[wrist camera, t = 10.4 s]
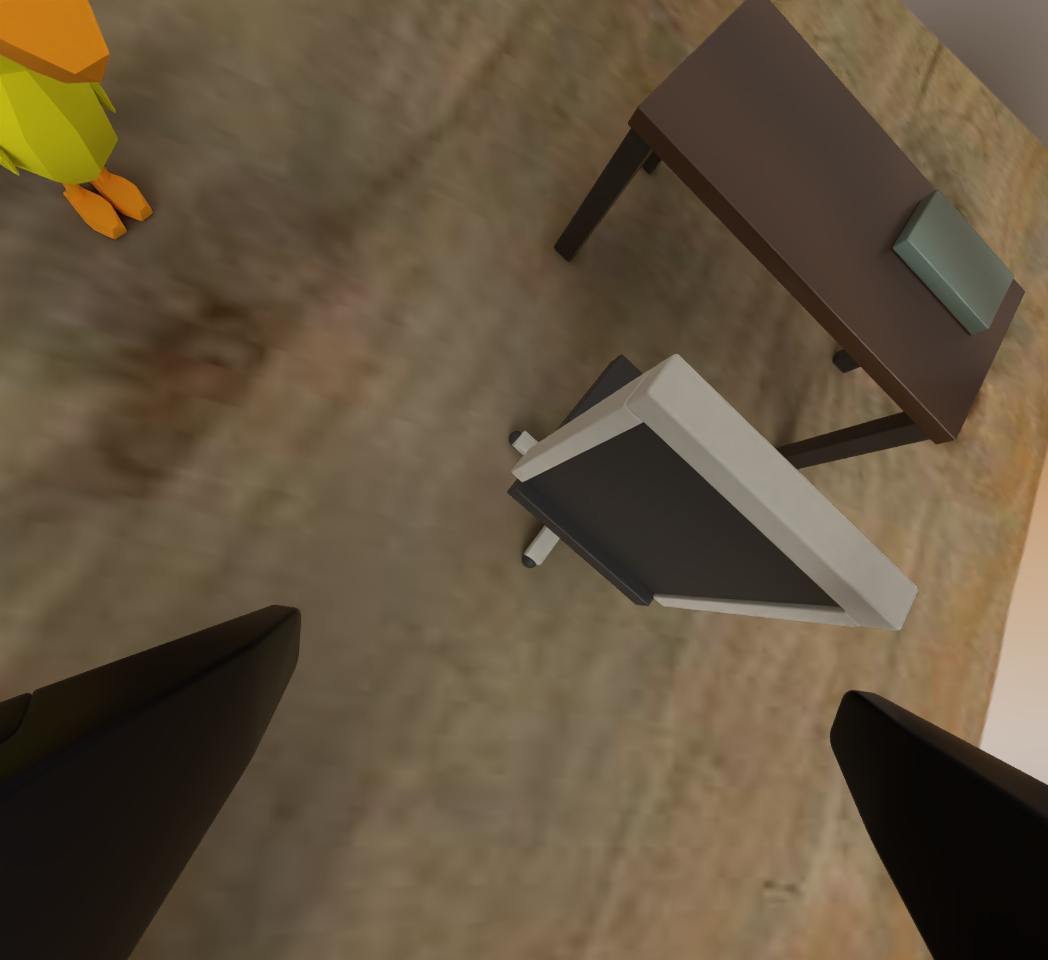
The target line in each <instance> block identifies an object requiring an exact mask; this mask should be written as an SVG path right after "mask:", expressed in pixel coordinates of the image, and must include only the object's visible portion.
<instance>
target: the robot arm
mask: <svg viewBox="0 0 1048 960" xmlns="http://www.w3.org/2000/svg"><path fill="white" fill-rule="evenodd" d="M300 629H301V613H300V611H299V609H297V608H295V607H288V606H281V605H271V606H268V607H265V608H263V609H260V610H257V611H254V612H251V613H249V614H246V615H243V616H240V617H238V618H235V619H232V620H229V621H226V622H224V623H221V624H218V625H215V626H212V627H210V628H207V629H204V630H201V631H198V632H196V633H193V634H190V635H187V636H184V637H182V638H179V639H176V640H173V641H171V642H168V643H165V644H162V645H159V646H157V647H154V648H151V649H148V650H145V651H143V652H140V653H137V654H134V655H131V656H129V657H126V658H123V659H120V660H117V661H115V662H112V663H109V664H106V665H103V666H101V667H98V668H95V669H92V670H90V671H87V672H84V673H81V674H78V675H76V676H73V677H70V678H67V679H64V680H62V681H59V682H56V683H53V684H50V685H48V686H45V687H42V688H39V689H37V690H35V691H34V692H33V694H32V695H31V694H30V693H25V694H22V695H19V696H16V697H14V698H11V699H8V700H5V701H3V702H0V960H128V958H129V956H130V955H131V953H132V952H133V950H134V948H135V947H136V945H137V944H138V942H139V940H140V939H141V937H142V935H143V934H144V932H145V931H146V929H147V927H148V926H149V924H150V923H151V921H152V919H153V918H154V916H155V914H156V913H157V911H158V910H159V908H160V906H161V905H162V903H163V902H164V900H165V898H166V897H167V895H168V893H169V892H170V890H171V889H172V887H173V885H174V884H175V882H176V881H177V879H178V877H179V876H180V874H181V872H182V871H183V869H184V868H185V866H186V864H187V863H188V861H189V860H190V858H191V856H192V855H193V853H194V851H195V850H196V848H197V847H198V845H199V843H200V842H201V840H202V839H203V837H204V835H205V834H206V832H207V831H208V829H209V827H210V826H211V824H212V822H213V821H214V819H215V818H216V816H217V814H218V813H219V811H220V810H221V808H222V806H223V805H224V803H225V801H226V800H227V798H228V797H229V795H230V793H231V792H232V790H233V789H234V787H235V785H236V784H237V782H238V780H239V779H240V777H241V776H242V774H243V772H244V771H245V769H246V767H247V766H248V764H249V762H250V760H251V759H252V757H253V755H254V753H255V751H256V749H257V747H258V745H259V743H260V741H261V739H262V737H263V735H264V733H265V731H266V729H267V727H268V725H269V723H270V720H271V718H272V716H273V714H274V712H275V710H276V708H277V706H278V704H279V702H280V700H281V697H282V695H283V693H284V691H285V689H286V687H287V685H288V683H289V681H290V679H291V676H292V674H293V672H294V670H295V667H296V665H297V661H298V656H299V643H300ZM830 743H831V747H832V750H833V752H834V754H835V757H836V759H837V761H838V764H839V766H840V769H841V771H842V773H843V776H844V778H845V780H846V783H847V785H848V787H849V790H850V792H851V794H852V797H853V799H854V802H855V804H856V806H857V809H858V811H859V813H860V816H861V818H862V820H863V823H864V825H865V827H866V830H867V832H868V834H869V836H870V838H871V841H872V843H873V845H874V847H875V849H876V851H877V853H878V855H879V857H880V859H881V860H882V862H883V864H884V866H885V868H886V870H887V872H888V874H889V876H890V878H891V879H892V881H893V883H894V885H895V887H896V889H897V891H898V893H899V895H900V896H901V898H902V900H903V902H904V904H905V906H906V908H907V910H908V912H909V914H910V915H911V917H912V919H913V921H914V923H915V925H916V927H917V929H918V931H919V932H920V934H921V936H922V938H923V940H924V942H925V944H926V946H927V948H928V950H929V951H930V953H931V955H932V957H933V959H934V960H1048V785H1047V784H1045V783H1043V782H1041V781H1039V780H1037V779H1035V778H1033V777H1032V776H1030V775H1028V774H1026V773H1024V772H1022V771H1020V770H1018V769H1016V768H1015V767H1012V766H1011V765H1009V764H1007V763H1005V762H1003V761H1001V760H1000V759H998V758H996V757H994V756H992V755H990V754H988V753H986V752H985V751H983V750H981V749H979V748H977V747H975V746H973V745H971V744H970V743H968V742H966V741H964V740H962V739H960V738H958V737H956V736H954V735H953V734H951V733H949V732H947V731H945V730H943V729H941V728H939V727H938V726H936V725H934V724H932V723H930V722H928V721H926V720H924V719H923V718H921V717H919V716H917V715H915V714H913V713H911V712H909V711H907V710H906V709H904V708H902V707H900V706H898V705H896V704H894V703H892V702H891V701H889V700H887V699H885V698H883V697H881V696H879V695H877V694H875V693H871V692H864V691H857V690H850V691H848V692H846V693H845V694H844V696H843V698H842V700H841V703H840V706H839V709H838V711H837V714H836V717H835V720H834V722H833V725H832V728H831V731H830Z"/></svg>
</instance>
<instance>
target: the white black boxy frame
mask: <svg viewBox="0 0 1048 960" xmlns="http://www.w3.org/2000/svg"><path fill="white" fill-rule="evenodd" d="M509 442H510V443H511V445H512V446H513V447H515V448H516V449H517V450H518V451H519V452H520V453H521V454H522V455H524V456H523V457H522V458H521V459H520V460H519V462H518V463H517V464H516V465H515V467H514V468H513V469H512V470H511V473H512V474H513V475H514V476H516V477H517V480H516V481H515V482H514V483H513V485H512V486H511V487H510V488H509V490H508V491H507V493H508V494H509V495H510V496H512V497H513V498H514V499H515V500H516V501H517V502H519V503H520V504H521V505H522V506H523V507H524V508H525V509H527V510H528V511H529V512H530V513H531V514H532V515H533V516H535V517H536V518H537V519H538V520H539V521H540V522H542V523H543V524H544V525H545V526H544V527H543V529H542V530H541V531H540V533H539V534H538V535H537V536H536V538H535V539H534V540H533V542H532V543H531V544H530V546H529V547H528V548H527V550H526V551H525V552H524V555H523V557H522V563H523V565H524V566H526V567H528V568H532V567H534V566H536V565H541V564H542V562H543V561H544V559H545V558H546V557H547V555H548V554H549V553H550V551H551V550H552V549H553V547H554V546H555V544H556V543H557V542H558V540H559V539H561V540H562V541H563V542H565V543H566V544H567V545H568V546H569V547H570V548H571V549H573V550H574V551H575V552H576V553H577V554H578V555H579V556H581V557H582V558H583V559H584V560H585V561H586V562H588V563H589V564H590V565H591V566H592V567H593V568H594V569H596V570H597V571H598V572H599V573H600V574H601V575H603V576H604V577H605V578H606V579H607V580H608V581H609V582H611V583H612V584H613V585H614V586H615V587H616V588H617V589H619V590H620V591H621V592H622V593H623V594H624V595H626V596H627V597H628V598H629V599H630V600H631V601H632V602H634V603H635V604H637V605H645V606H649V605H650V603H651V601H652V600H653V598H654V599H656V600H657V601H658V602H659V603H660V604H661V605H662V606H667V607H676V608H685V609H694V610H704V611H713V612H722V613H731V614H741V615H750V616H759V617H768V618H777V619H787V620H796V621H805V622H814V623H824V624H833V625H842V626H851V627H861V626H863V627H868V628H877V629H886V630H896V631H897V630H900V629H901V628H902V626H903V623H904V621H905V619H906V617H907V614H908V612H909V610H910V607H911V605H912V603H913V601H914V598H915V596H916V594H917V592H918V588H917V586H916V585H915V584H914V583H913V582H912V581H911V580H910V579H909V578H908V577H907V576H906V575H905V574H904V573H903V572H901V571H900V570H899V569H898V568H897V567H896V566H895V565H894V564H893V563H892V562H891V561H890V560H889V559H888V558H887V557H886V556H885V555H884V554H883V553H882V552H881V551H880V550H879V549H878V548H877V547H876V546H875V545H874V544H873V543H872V542H871V541H870V540H869V539H868V538H867V537H866V536H865V535H863V534H862V533H861V532H860V531H859V530H858V529H857V528H856V527H855V526H854V525H853V524H852V523H851V522H850V521H849V520H848V519H847V518H846V517H845V516H844V515H843V514H842V513H841V512H840V511H839V510H838V509H837V508H836V507H835V506H834V505H833V504H832V503H831V502H830V501H829V500H828V499H827V498H825V497H824V496H823V495H822V494H821V493H820V492H819V491H818V490H817V489H816V488H815V487H814V486H813V485H812V484H811V483H810V482H809V481H808V480H807V479H806V478H805V477H804V476H803V475H802V474H801V473H800V472H799V471H798V470H797V469H796V468H795V467H794V466H793V465H792V464H791V463H790V462H789V461H787V460H786V459H785V458H784V457H783V456H782V455H781V454H780V453H779V452H778V451H777V450H776V449H775V448H774V447H773V446H772V445H771V444H770V443H769V442H768V441H767V440H766V439H765V438H764V437H763V436H762V435H761V434H760V433H759V432H758V431H757V430H756V429H755V428H754V427H753V426H752V425H751V424H749V423H748V422H747V421H746V420H745V419H744V418H743V417H742V416H741V415H740V414H739V413H738V412H737V411H736V410H735V409H734V408H733V407H732V406H731V405H730V404H729V403H728V402H727V401H726V400H725V399H724V398H723V397H722V396H721V395H720V394H719V393H718V392H717V391H716V390H715V389H714V388H713V387H711V386H710V385H709V384H708V383H707V382H706V381H705V380H704V379H703V378H702V377H701V376H700V375H699V374H698V373H697V372H696V371H695V370H694V369H693V368H692V367H691V366H690V365H689V364H688V363H687V362H686V361H685V360H684V359H683V358H682V357H681V356H680V355H678V354H674V355H672V356H670V357H669V358H667V359H666V360H664V361H662V362H661V363H659V364H658V365H656V366H655V367H653V368H652V369H650V370H648V371H646V372H645V373H643V374H642V373H641V372H640V371H639V370H638V369H637V368H636V367H635V366H634V365H633V364H632V363H631V362H630V361H629V360H627V359H626V358H625V357H624V356H623V355H620V356H618V357H617V358H616V359H615V360H613V361H612V362H611V363H610V364H609V365H608V366H607V368H606V369H605V370H604V371H603V373H602V374H601V375H600V376H599V378H598V379H597V380H596V381H595V383H594V384H593V385H592V386H591V388H590V389H589V390H588V391H587V393H586V394H585V395H584V396H583V398H582V399H581V400H580V401H579V403H578V404H577V405H576V406H575V407H574V409H573V410H572V411H571V412H570V414H569V415H568V416H567V417H566V419H565V420H564V421H563V422H562V424H561V425H560V426H559V427H558V429H557V430H556V431H555V432H554V433H552V434H551V435H549V436H548V437H546V438H545V439H543V440H542V441H540V442H538V441H536V440H535V439H534V438H533V437H532V436H531V435H530V434H529V433H528V432H526V431H523V432H522V433H521V432H519V431H514V432H512V433H511V434H510V436H509Z"/></svg>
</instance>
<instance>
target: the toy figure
mask: <svg viewBox="0 0 1048 960" xmlns="http://www.w3.org/2000/svg"><path fill="white" fill-rule="evenodd" d="M109 54H110V53H109V51H108V48H107V46H106V43H105V41H104V38H103V36H102V33H101V31H100V28H99V26H98V24H97V21H96V19H95V16H94V14H93V11H92V9H91V6H90V4H89V2H88V0H0V164H1V165H2V166H4V167H5V168H7V169H8V170H10V171H12V172H13V173H15V174H17V175H19V173H18V170H17V169H16V167H15V166H17V167H20V168H22V169H25V170H27V171H30V172H33V173H35V174H38V175H40V176H43V177H45V178H48V179H50V180H53V181H55V182H60V183H62V184H63V186H64V187H65V188H66V190H67V191H65V192H64V193H63V194H64V196H65V197H66V198H67V199H68V201H69V202H70V203H71V204H72V206H73V207H74V208H75V209H76V211H77V212H78V213H79V214H80V216H81V217H82V218H83V219H84V221H85V222H86V223H87V224H88V225H89V226H90V227H92V228H93V229H94V230H95V231H97V232H99V233H101V234H104V235H106V236H108V237H110V238H112V239H115V240H116V239H117V238H119V237H120V236H122V235H123V234H125V233H126V232H127V231H126V229H125V227H124V225H123V223H122V222H121V220H120V218H119V217H118V215H117V213H116V212H115V210H114V208H115V209H116V210H118V211H119V212H120V213H122V214H123V215H126V216H129V217H131V218H134V219H136V220H139V221H142V222H143V221H144V220H145V219H147V218H148V217H149V216H150V215H151V214H153V212H152V209H151V207H150V206H149V204H148V203H147V201H146V200H145V199H144V197H143V196H142V194H141V193H140V191H139V190H138V188H137V187H136V185H134V184H133V183H131V182H130V181H128V180H127V179H125V178H122V177H120V176H117V175H114V174H112V173H109V172H108V171H107V169H106V167H105V166H104V165H105V164H106V162H107V160H108V158H109V156H110V154H111V153H112V151H113V149H114V147H115V145H116V143H117V142H118V140H119V139H118V137H117V135H116V134H115V132H114V130H113V128H112V126H111V124H110V122H109V120H108V118H107V116H106V114H105V112H104V110H103V108H102V106H104V107H106V108H107V109H109V110H111V111H113V112H114V113H116V111H115V108H114V107H113V105H112V103H111V101H110V100H109V98H108V96H107V94H106V93H105V91H104V90H103V88H102V87H101V85H100V84H99V82H102V80H103V76H104V72H105V69H106V65H107V62H108V58H109ZM100 104H101V105H102V106H101V105H100ZM14 165H15V166H14ZM19 176H20V175H19ZM85 182H90V183H91V184H92V185H93V186H94V187H95V188H96V190H97V191H98V192H99V193H100V194H101V195H102V196H103V197H104V198H105V199H106V200H107V201H106V200H105V199H104V198H102V197H101V196H99V195H97V194H95V193H93V192H91V191H89V190H86V189H84V188H82V187H81V186H80V185H79V184H81V183H85ZM113 207H114V208H113Z"/></svg>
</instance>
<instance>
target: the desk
mask: <svg viewBox="0 0 1048 960" xmlns="http://www.w3.org/2000/svg"><path fill="white" fill-rule="evenodd" d="M628 125H629V126H630V127H631V129H630V130H629V132H628V133H627V135H626V137H625V138H624V140H623V141H622V143H621V144H620V146H619V147H618V149H617V150H616V152H615V153H614V155H613V157H612V158H611V160H610V161H609V163H608V164H607V166H606V167H605V169H604V170H603V172H602V173H601V175H600V177H599V178H598V180H597V181H596V183H595V184H594V186H593V187H592V189H591V190H590V192H589V193H588V195H587V197H586V198H585V200H584V201H583V203H582V204H581V206H580V207H579V209H578V210H577V212H576V213H575V215H574V216H573V218H572V220H571V221H570V223H569V224H568V226H567V227H566V229H565V230H564V232H563V233H562V235H561V236H560V238H559V240H558V241H557V243H556V244H555V246H554V248H555V249H556V250H557V251H558V252H559V253H560V254H561V255H562V256H563V257H564V258H565V259H566V260H567V261H570V260H571V259H572V258H573V257H574V256H575V255H576V254H577V252H578V251H579V250H580V249H581V248H582V246H583V245H584V244H585V242H586V241H587V240H588V238H589V237H590V235H591V234H592V233H593V231H594V230H595V229H596V227H597V226H598V225H599V223H600V222H601V221H602V219H603V218H604V216H605V215H606V214H607V212H608V211H609V210H610V208H611V207H612V206H613V204H614V203H615V202H616V200H617V199H618V197H619V196H620V195H621V193H622V192H623V191H624V189H625V188H626V187H627V185H628V184H629V183H630V181H631V180H632V179H633V177H634V176H635V174H636V173H637V172H638V170H639V169H640V168H641V166H643V167H644V169H645V170H646V171H647V172H648V173H649V174H650V173H652V171H653V170H654V169H655V168H656V167H657V166H658V165H659V164H660V163H661V161H662V160H663V161H664V162H665V163H666V165H667V166H668V167H669V168H670V169H671V170H672V171H673V172H674V173H675V174H676V175H677V176H678V177H679V178H680V179H681V180H682V181H683V182H684V183H685V184H686V185H687V186H688V187H689V188H690V189H691V191H692V192H693V193H694V194H695V195H696V196H697V197H698V198H699V199H700V200H701V201H702V202H703V203H704V204H705V205H706V206H707V207H708V208H709V209H710V210H711V211H712V212H713V213H714V214H715V215H716V217H717V218H718V219H719V220H720V221H721V222H722V223H723V224H724V225H725V226H726V227H727V228H728V229H729V230H730V231H731V232H732V233H733V234H734V235H735V236H736V237H737V238H738V239H739V240H740V241H741V242H742V244H743V245H744V246H745V247H746V248H747V249H748V250H749V251H750V252H751V253H752V254H753V255H754V256H755V257H756V258H757V259H758V260H759V261H760V262H761V263H762V264H763V265H764V266H765V267H766V268H767V270H768V271H769V272H770V273H771V274H772V275H773V276H774V277H775V278H776V279H777V280H778V281H779V282H780V283H781V284H782V285H783V286H784V287H785V288H786V289H787V290H788V291H789V292H790V293H791V294H792V296H793V297H794V298H795V299H796V300H797V301H798V302H799V303H800V304H801V305H802V306H803V307H804V308H805V309H806V310H807V311H808V312H809V313H810V314H811V315H812V316H813V317H814V318H815V319H816V320H817V322H818V323H819V324H820V325H821V326H822V327H823V328H824V329H825V330H826V331H827V332H828V333H829V334H830V335H831V336H832V337H833V338H834V339H835V340H836V341H837V342H838V343H839V344H840V345H841V346H842V347H843V349H842V350H840V351H839V352H838V354H837V355H836V357H835V358H834V360H833V363H834V364H835V365H836V366H837V367H838V368H839V369H840V370H841V371H842V372H843V373H846V372H848V371H851V370H853V369H856V368H858V367H862V368H863V369H864V370H865V371H866V372H867V373H868V375H869V376H870V377H871V378H872V379H873V380H874V381H875V382H876V383H877V384H878V385H879V386H880V387H881V388H882V389H883V390H884V391H885V392H886V393H887V394H888V395H889V396H890V397H891V398H892V399H893V401H894V402H895V403H896V404H897V405H898V406H899V407H900V408H901V409H902V410H903V411H904V412H901V413H897V414H894V415H890V416H887V417H883V418H880V419H876V420H873V421H869V422H866V423H862V424H859V425H855V426H852V427H848V428H845V429H841V430H838V431H834V432H831V433H827V434H824V435H820V436H817V437H813V438H810V439H806V440H802V441H799V442H795V443H792V444H788V445H785V446H782V447H780V449H779V451H778V452H779V453H780V454H781V455H782V456H783V457H784V458H785V459H786V460H787V461H789V462H790V463H791V464H792V465H793V466H794V467H795V468H796V469H800V468H805V467H809V466H813V465H818V464H822V463H827V462H831V461H836V460H840V459H845V458H849V457H853V456H858V455H862V454H867V453H871V452H876V451H880V450H884V449H889V448H893V447H898V446H902V445H907V444H911V443H916V442H920V441H924V440H929V439H931V440H932V441H933V442H934V443H935V444H940V443H945V442H950V441H954V440H956V439H957V437H958V435H959V433H960V431H961V428H962V426H963V424H964V422H965V420H966V418H967V416H968V413H969V411H970V409H971V407H972V405H973V403H974V401H975V398H976V396H977V394H978V392H979V390H980V388H981V386H982V383H983V381H984V379H985V377H986V375H987V373H988V370H989V368H990V366H991V364H992V362H993V360H994V358H995V355H996V353H997V351H998V349H999V347H1000V345H1001V343H1002V340H1003V338H1004V336H1005V334H1006V332H1007V330H1008V327H1009V325H1010V323H1011V321H1012V319H1013V317H1014V315H1015V312H1016V310H1017V308H1018V306H1019V304H1020V302H1021V300H1022V297H1023V295H1024V293H1025V291H1024V290H1023V289H1022V288H1021V286H1020V285H1019V284H1018V283H1017V282H1016V281H1015V280H1014V275H1013V273H1012V272H1011V271H1010V270H1009V269H1008V268H1007V267H1006V265H1005V264H1004V263H1003V262H1002V261H1001V260H1000V259H999V257H998V256H997V255H996V254H995V253H994V252H993V251H992V249H991V248H990V247H989V246H988V245H987V244H986V243H985V241H984V240H983V239H982V238H981V237H980V236H979V235H978V233H977V232H976V231H975V230H974V229H973V228H972V227H971V225H970V224H969V223H968V222H967V221H966V220H965V219H964V217H963V216H962V215H961V214H960V213H959V212H958V211H957V209H956V208H955V207H954V206H953V205H952V204H951V203H950V201H949V200H948V199H947V198H946V197H945V196H944V195H943V193H942V192H941V191H940V190H939V189H937V190H936V189H935V188H934V187H933V186H932V185H931V184H930V182H929V181H928V180H927V179H926V178H925V177H924V176H923V175H922V173H921V172H920V171H919V170H918V169H917V168H916V167H915V165H914V164H913V163H912V162H911V161H910V160H909V159H908V157H907V156H906V155H905V154H904V153H903V152H902V151H901V149H900V148H899V147H898V146H897V145H896V144H895V143H894V141H893V140H892V139H891V138H890V137H889V136H888V135H887V133H886V132H885V131H884V130H883V129H882V128H881V127H880V125H879V124H878V123H877V122H876V121H875V120H874V119H873V117H872V116H871V115H870V114H869V113H868V112H867V111H866V109H865V108H864V107H863V106H862V105H861V104H860V103H859V101H858V100H857V99H856V98H855V97H854V96H853V95H852V93H851V92H850V91H849V90H848V89H847V88H846V87H845V85H844V84H843V83H842V82H841V81H840V80H839V79H838V77H837V76H836V75H835V74H834V73H833V72H832V71H831V69H830V68H829V67H828V66H827V65H826V64H825V63H824V61H823V60H822V59H821V58H820V57H819V56H818V55H817V53H816V52H815V51H814V50H813V49H812V48H811V47H810V46H809V44H808V43H807V42H806V41H805V40H804V39H803V38H802V36H801V35H800V34H799V33H798V32H797V31H796V30H795V28H794V27H793V26H792V25H791V24H790V23H789V22H788V20H787V19H786V18H785V17H784V16H783V15H782V14H781V12H780V11H779V10H778V9H777V8H776V7H775V6H774V4H773V3H772V2H771V1H770V0H745V1H744V2H743V3H742V4H741V5H740V6H739V7H738V8H737V9H736V10H735V11H734V12H733V13H732V14H731V15H730V16H729V17H728V18H727V19H726V20H725V21H724V22H723V23H722V24H721V25H720V26H719V27H718V28H717V29H716V30H715V31H714V32H713V33H712V34H711V35H710V36H709V37H708V38H707V39H706V40H705V41H704V42H703V43H702V44H701V45H700V46H699V47H698V48H697V49H696V50H695V51H694V52H693V53H692V54H691V55H690V56H689V57H688V58H687V59H686V60H685V61H684V62H683V63H682V64H681V65H680V66H679V67H678V68H677V69H676V70H675V71H673V72H672V73H671V74H670V75H669V76H668V77H667V78H666V79H665V80H664V81H663V82H662V83H661V84H660V85H659V86H658V87H657V88H656V89H655V90H654V91H653V92H652V93H651V94H650V95H649V96H648V97H647V98H646V99H645V100H644V101H643V102H642V103H641V104H640V105H639V106H638V107H637V109H636V111H635V112H634V114H633V115H632V117H631V118H630V120H629V122H628Z"/></svg>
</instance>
